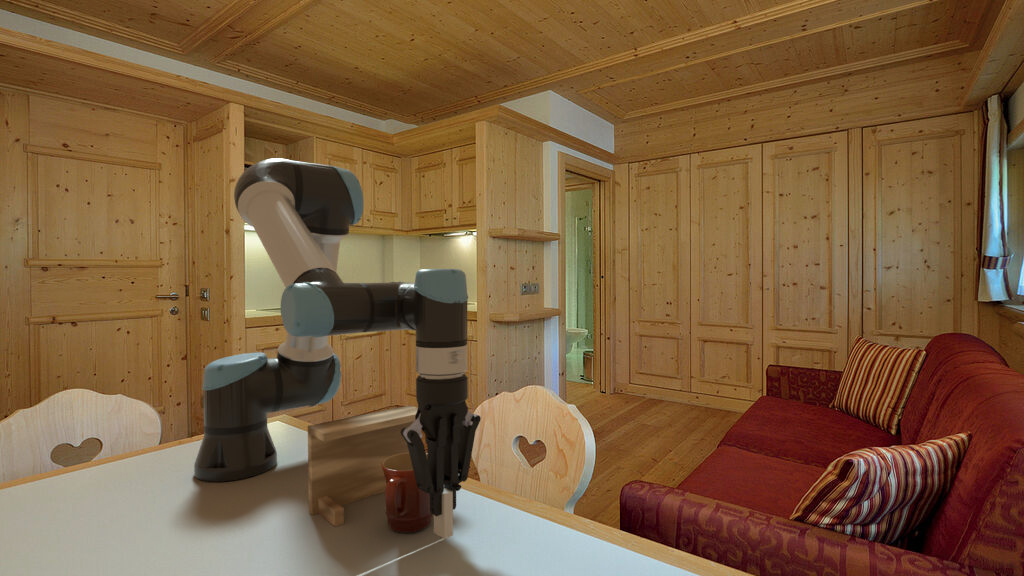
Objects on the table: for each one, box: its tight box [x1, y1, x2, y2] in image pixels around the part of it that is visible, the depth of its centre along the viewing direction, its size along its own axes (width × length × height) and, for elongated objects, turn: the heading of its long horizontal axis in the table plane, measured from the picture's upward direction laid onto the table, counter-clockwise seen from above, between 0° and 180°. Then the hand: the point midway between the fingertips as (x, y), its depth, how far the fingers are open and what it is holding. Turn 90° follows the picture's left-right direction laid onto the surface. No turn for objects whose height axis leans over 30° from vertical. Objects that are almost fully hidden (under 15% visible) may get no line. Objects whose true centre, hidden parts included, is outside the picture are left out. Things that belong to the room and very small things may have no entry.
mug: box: [381, 452, 434, 534], centre depth 80 cm, size 12×9×10 cm
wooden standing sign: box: [307, 405, 418, 527], centre depth 90 cm, size 8×20×15 cm, turn 133°
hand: (443, 533), depth 75 cm, fingers closed
